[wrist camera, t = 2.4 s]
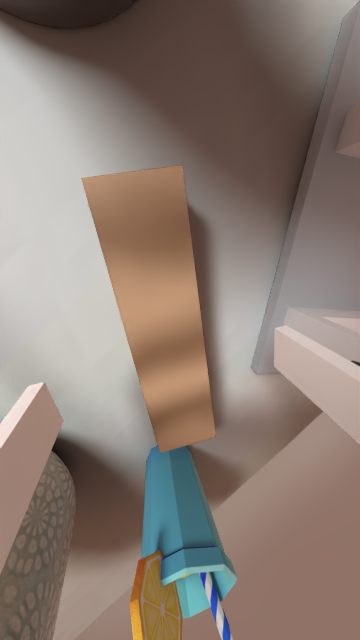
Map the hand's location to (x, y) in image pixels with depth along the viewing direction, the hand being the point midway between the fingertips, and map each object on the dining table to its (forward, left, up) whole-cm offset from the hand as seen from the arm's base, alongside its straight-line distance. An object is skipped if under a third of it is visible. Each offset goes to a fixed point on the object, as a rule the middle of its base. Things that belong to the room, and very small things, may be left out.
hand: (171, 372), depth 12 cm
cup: (+18, +3, -7) cm, 19 cm away
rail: (0, 0, -8) cm, 8 cm away
